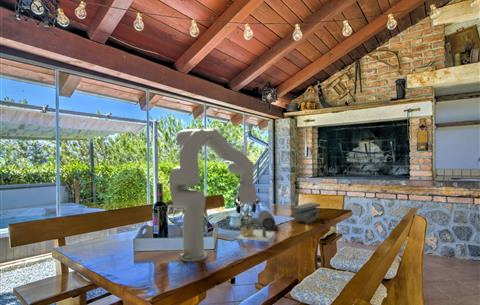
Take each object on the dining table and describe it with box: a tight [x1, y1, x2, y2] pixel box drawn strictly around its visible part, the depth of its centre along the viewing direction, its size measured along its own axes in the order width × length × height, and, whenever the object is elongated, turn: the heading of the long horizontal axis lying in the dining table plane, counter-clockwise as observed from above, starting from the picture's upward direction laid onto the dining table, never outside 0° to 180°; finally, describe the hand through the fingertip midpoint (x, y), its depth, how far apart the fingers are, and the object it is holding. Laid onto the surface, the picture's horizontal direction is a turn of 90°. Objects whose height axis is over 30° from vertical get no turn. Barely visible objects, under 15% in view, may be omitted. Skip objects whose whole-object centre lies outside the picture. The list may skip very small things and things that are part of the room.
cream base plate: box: [236, 227, 276, 242], centre depth 166 cm, size 20×18×6 cm
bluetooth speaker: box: [257, 210, 276, 231], centre depth 187 cm, size 23×9×10 cm, turn 2°
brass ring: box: [240, 225, 255, 237], centre depth 166 cm, size 7×7×4 cm
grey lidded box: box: [291, 202, 321, 224], centre depth 206 cm, size 25×8×11 cm, turn 135°
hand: (246, 212), depth 165 cm, fingers open, 9 cm apart
